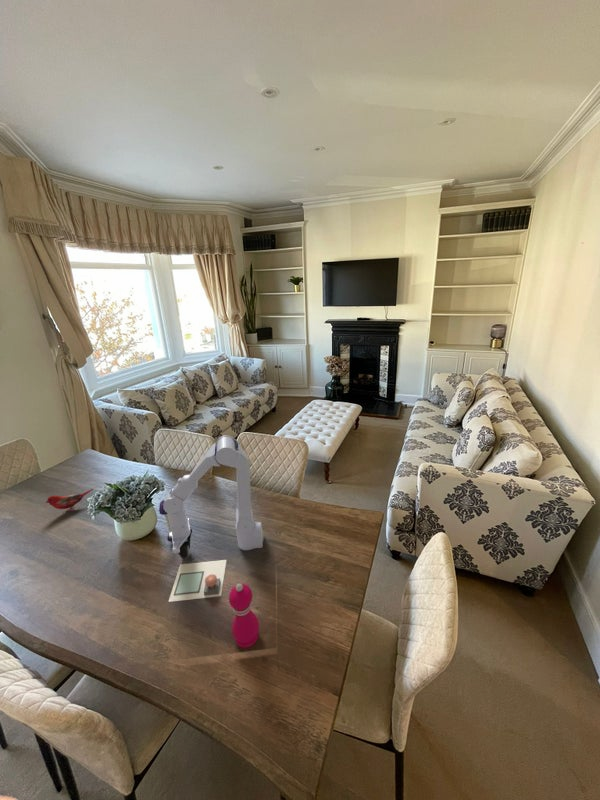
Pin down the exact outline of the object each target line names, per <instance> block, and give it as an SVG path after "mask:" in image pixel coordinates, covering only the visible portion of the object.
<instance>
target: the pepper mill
mask: <svg viewBox="0 0 600 800" xmlns="http://www.w3.org/2000/svg"><path fill="white" fill-rule="evenodd" d="M228 600H229V601H228V603H229V605H230V607H232V611H233V613H234V614H235V616H234V618H233V621H232V625H231V633H232V636H233V638H234V640H235V643H236V644H237V646H239V647H240V648H249V647H252V646H253V645H255V643H256V642H257V640H258V639H259V628H260V623H259V619H258V617H257V615H256V614H255V613H254V611H252V605H253V604H252V602H253V601H252V600H253V591H252V589H251V587H250V586H249V584H245V583H238V584H236V585H234V586H233V588H232V589H231V590H230V592H229V595H228Z"/></svg>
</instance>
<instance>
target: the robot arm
mask: <svg viewBox="0 0 600 800" xmlns="http://www.w3.org/2000/svg"><path fill="white" fill-rule="evenodd" d="M221 465H223V466H226V467H231V468H234V469H236V490H237V491H236V493H237V496H236V497H237V505H236V507H235V510H234V513H235V522H236V523H235V534H236V538H237V546H238V548H239V549H240V550H241V551H250V550H253V549H258V548H259V549H260V548H261V549H262V548H263V543H264V539H265V538H264V534H263V533H264V532H263V525H262V522H261V521H255V519H254V515H253V506H252V505H251V504H252V503H251V467H250V465H251V463H250V457H249V455H248V454H247V453H246V451H245V450H244V449H243V448H242V446H241V445H240V443H239V440H238V439H235V438H234V437H233V436H230V435H228V434H227V435H222V436H219V438H217V440H216V442H214V443H213V444H212V445H211V446H210V447H209V449H208V450H207V452H206V453H205V454H204V455H203V457H202V458H201V459H200V461H199V462H198V463H197V465H196V466H195V467H194V468H193V470H192V471H191V472H190V473H189V474H184V475H183V476H182V477H179V478H178V479H177V483H176V484H175V485H174V487H173V488H171V489H169V491H168V492H166V494H165V497H164V500H165V501H164V505H163V508H164V510H165V512H167V516H168V520H169V524H170V528H171V532H170V531H169V533H170V534H169V533H168V534H169V537H172V540H171V541H172V543H171V545H170V546H171V548H172V549H171V550H172V553H173V554H178V555H179V556H180V558H181V559H182V558H183V559H186V558H185V557H187V556H188V546H189V550H190V549H191V539H192V538H191V537H192V534H193V529H192V528H190V519H189V518H187V513H186V512H187V511H186V509H185V506H184V502H185V501H186V500H187V499H188V498H189V497H190V496H191V495H192V493H194V491H195V490H196V489H197V488H198V486H199V482H198V481H199V480H200V479H201V478H202V477H203V476H204V475H205V474H206V472H208V471H209V470H210V468H212V467H221ZM186 539H187V540H188V541H185V540H186ZM184 541H185V542H184Z"/></svg>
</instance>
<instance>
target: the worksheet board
mask: <svg viewBox="0 0 600 800" xmlns="http://www.w3.org/2000/svg"><path fill="white" fill-rule="evenodd" d="M226 567H227V559H221V560H212V561H209V560H208V561H202V562H192V563H183V564H181V563H180V565H179V567H178V570H177V573H176V577H175V580H174V583H173V586H172V588H171V589H172V590H171V593H170V595H169V598H168V603H172V602H179V601H181V602H182V601H188V600H196V599H197V600H198V599H206V598H207V599H208V598H213V597H214V598H215V597H221V596H222V591H223V586H224V585H223V584H224V578H225V571H226ZM211 574H214V575H216V577H217V583H216V584H215V585H214V586H213V587H207V586H206V584H205V579H206V577H207V576H209V575H211Z"/></svg>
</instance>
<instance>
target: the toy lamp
mask: <svg viewBox="0 0 600 800" xmlns="http://www.w3.org/2000/svg"><path fill="white" fill-rule="evenodd" d="M164 501H165V499H163V500H161V501H160V502H159V509H158V512H159V514H160V515H161V516H164V517H165V520H166V523H167V527H168V530H169V533H168V534H167V539H168V540H169V541H172V537H169V534H170V532H171V528H170V524H169V520H168V516H167V512H165V510H164V508H163V505H164Z"/></svg>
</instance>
